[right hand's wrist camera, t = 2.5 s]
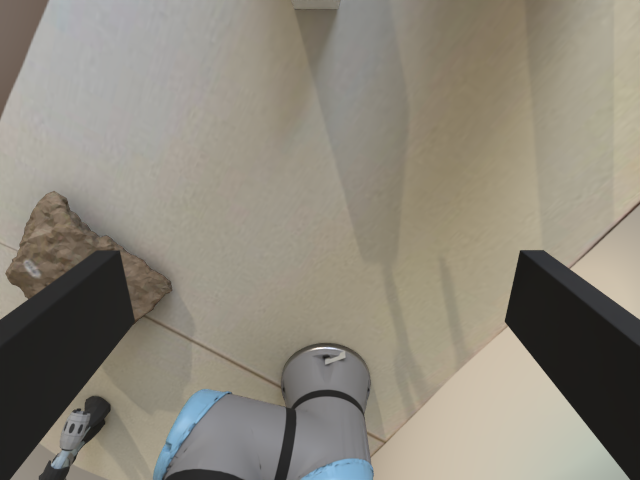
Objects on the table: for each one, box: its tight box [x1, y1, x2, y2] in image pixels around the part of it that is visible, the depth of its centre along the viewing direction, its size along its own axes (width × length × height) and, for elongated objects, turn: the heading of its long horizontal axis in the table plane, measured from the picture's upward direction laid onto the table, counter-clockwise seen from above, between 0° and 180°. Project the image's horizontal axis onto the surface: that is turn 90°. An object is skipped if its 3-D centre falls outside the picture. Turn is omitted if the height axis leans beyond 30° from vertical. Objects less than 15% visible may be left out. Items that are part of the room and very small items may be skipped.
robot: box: [39, 396, 110, 480], centre depth 59 cm, size 20×5×20 cm, turn 153°
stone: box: [5, 191, 172, 324], centre depth 55 cm, size 21×15×6 cm
